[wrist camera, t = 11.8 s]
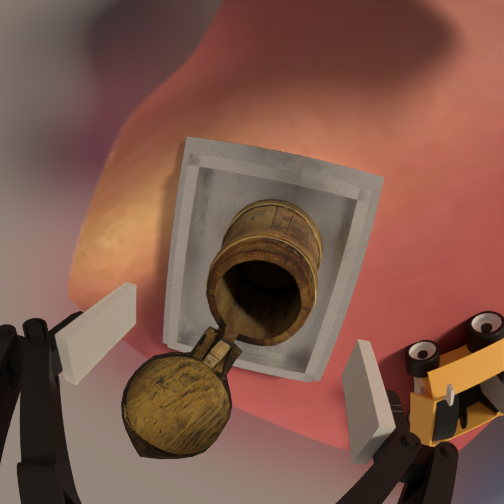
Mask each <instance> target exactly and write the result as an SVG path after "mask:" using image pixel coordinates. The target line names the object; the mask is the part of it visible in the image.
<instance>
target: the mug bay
mask: <svg viewBox="0 0 504 504" xmlns="http://www.w3.org/2000/svg"><path fill="white" fill-rule="evenodd" d="M383 180H384V177H381V176H378V175H375V174H371V173H368V172H364V171H360V170H357V169H353V168H349V167H346V166H342V165H338V164H334V163H330V162H326V161H322V160H317V159H313V158H309V157H304V156H300V155H295V154H290V153H286V152H281V151H276V150H271V149H265V148H260V147H254V146H249V145H243V144H237V143H230V142H224V141H217V140H210V139H203V138H195V137H187V138H186V143H185V149H184V154H183V160H182V166H181V172H180V178H179V184H178V191H177V198H176V205H175V212H174V219H173V227H172V235H171V244H170V253H169V263H168V273H167V284H166V296H165V310H164V326H163V343H165V344H168V345H167V347H168V348H171V349H175V350H178V351H181V352H184V353H186V352H191V351H192V349H193V348H194V347H195V345H196V344H197V342H198V341H199V339H200V338H201V337H202V335H203V334H204V332H205V331H206V330H207V329H208V327H209V326H211V327H213V328H215V329H218V327H219V326H218V324H217V323H216V321H215V319H214V318H213V316H212V314H211V312H210V308H209V304H208V300H207V296H206V282H207V277H208V272H209V268H210V265H211V264H212V262H213V260H214V258H215V256H216V255H217V253H218V252H219V251H220V250H221V246H222V241H223V236H224V234H225V232H226V230H227V228H228V226H229V225H230V223H231V222H232V220H233V219H234V217H235V216H236V214H237V213H238V212H239V211H240V210H242V209H243V208H244V207H245V206H246V205H248V204H251V203H253V202H256V201H258V200H265V199H277V200H283V201H287V202H289V203H291V204H294V205H296V206H298V207H299V208H301V209H302V210H303V211H304V212H306V213H307V214H308V215H309V216H310V218H311V219H312V220H313V222H314V223H315V224H316V226H317V228H318V230H319V232H320V234H321V236H322V247H323V252H322V255H321V262H320V268H319V270H318V272H317V275H318V289H317V296H316V303H315V305H314V307H313V309H312V311H311V313H310V315H309V317H308V319H307V320H306V321H305V323H304V325H303V326H302V327H301V328H300V329H299V330H298V331H297V332H296V333H295V334H294V335H293V336H292V337H291V338H289V339H288V340H286V341H285V342H283V343H280V344H277V345H274V346H257V345H252V344H247V343H244V342H241V341H237V340H235V341H234V343H235V344H236V345H237V346H238V347H239V348H240V349H241V350H242V351H243V352H242V353H241V355H240V356H239V357H238V358H237V360H236V361H235V362H234V364H233V366H235V367H239V368H243V369H247V370H251V371H256V372H260V373H265V374H269V375H274V376H279V377H284V378H289V379H294V380H299V381H305V382H310V383H311V382H312V380H316V381H320V380H321V377H322V375H323V373H324V370H325V368H326V365H327V363H328V360H329V358H330V355H331V353H332V350H333V348H334V345H335V342H336V340H337V337H338V334H339V332H340V329H341V326H342V323H343V321H344V318H345V315H346V312H347V309H348V306H349V303H350V300H351V297H352V294H353V291H354V288H355V285H356V282H357V279H358V276H359V272H360V269H361V266H362V262H363V259H364V256H365V252H366V249H367V245H368V241H369V238H370V234H371V230H372V227H373V223H374V219H375V215H376V211H377V207H378V202H379V198H380V194H381V189H382V185H383Z"/></svg>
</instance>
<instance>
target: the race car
mask: <svg viewBox="0 0 504 504" xmlns="http://www.w3.org/2000/svg"><path fill="white" fill-rule="evenodd" d="M405 359H406V370H407V372H408V374H409V375H411V376H413V377H414V392H411V393H410V413H409V414H408V417H407V423H408V427H409V430H410V432H412V433H414V434H416V435H417V436H418V437H419V439H420V440H421V444H424V445H428V446H431V447H433V446H435V445H437V444H438V443H440V442H443V441H448V440H450V439H452V438H455V437H457V436H459V435H461V434H464V433H466V432H468V431H470V430H472V429H474V428H476V427H478V426H480V425H482V424H484V423H486V422H488V421H490V420H492V419H494V418H495V417H497V416H502V415H504V317H503V316H502V315H501V314H499V313H497V312H493V311H484V312H481V313H479V314H476V315H474V316H472V317H471V318H470V319H469V321H468V324H467V345H464V346H462V347H460V348H458V349H455V350H453V351H450V352H448V353H445V354H443V355H440V347H439V345H438V344H437V343H436V342H434V341H431V340H422V341H419V342H416V343H414V344H411V345H410V346H409V347H408V348H407V349H406V352H405Z"/></svg>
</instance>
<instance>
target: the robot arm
mask: <svg viewBox="0 0 504 504" xmlns="http://www.w3.org/2000/svg"><path fill="white" fill-rule="evenodd" d="M136 287H137V285H134V284H131V283H128V282H125V283H124V284H122V285H121V286H120V287H118V288H117V289H115V290H114V291H113V292H111V293H110V294H108V295H107V296H106V297H104V298H103V299H102V300H100V301H99V302H97V303H96V304H95V305H93V306H92V307H91V308H89V309H88V310H87V311H85V312H81V311H79V312H76V313H74V314H71V315H70V316H69V317H67V318H66V319H65V320H63V321H62V322H61V323H59V324H58V325H56V326H55V327H54V328H52V329H51V330H50V331H48V328H47V323H46V322H45V321H44V320H43V319H40V318H32V319H29V320H27V321H25V322H24V323H23V325H22V326H23V331H24V335H25V337H23V336H20V335H17V332H16V328H15V327H14V326H12V325H7V324H6V325H1V326H0V462H1V458H2V453H3V449H4V445H5V441H6V437H7V433H8V429H9V426H10V422H11V419H12V415H13V412H14V409H15V406H16V403H17V400H18V397H19V393H20V391H21V394H20V395H21V396H20V445H21V462H20V463H18V464H17V477H18V486H19V493H20V499H21V504H81V501H80V499H79V497H78V494H77V492H76V488H75V484H74V480H73V475H72V471H71V467H70V461H69V456H68V451H67V445H66V439H65V432H64V425H63V417H62V407H61V396H60V383H59V376H58V374H59V373H61V372H62V371H63V375H64V378H65V380H67V381H69V382H70V383H72V384H74V385H77V384H78V383H79V382H80V381H81V380H82V379H83V378H84V377H85V376H86V375H87V374H88V373H89V372H90V370H91V369H92V368H93V367H94V366H95V365H96V364H97V363H98V362H99V361H100V360H101V359H102V358H103V357H104V356H105V355H106V354H107V353H108V352H109V351H110V350H111V349H112V348H113V347H114V346H115V345H116V344H117V343H118V342H119V341H120V340H121V339H122V338H123V337H124V336H125V335H126V333H127V332H128V331H129V330H130V329H131V328H132V327H133V326H134V325H135V324H136ZM342 382H343V390H344V397H345V405H346V413H347V421H348V430H349V440H350V450H351V461H352V463H357V464H367V463H368V462H369V460H371V458H372V457H373V461H374V464H373V466H371V467H370V469H369V470H368V471H367V472H366V473H365V474H364V475H363V477H361V479H360V480H359V481H358V482H357V483H356V484H355V485H354V486H353V487H352V488H351V489H350V490H349V491H348V492H347V493H346V494H345V495H344V496H343V497H342V498H341V499H340V500H339V501H338V502H337V503H336V504H382V503H383V502H384V500H385V499H386V498H387V496H388V495H389V494H390V492H391V491H392V490H393V488H394V487H395V486H396V484H397V483H398V482H403V483H405V484H404V487H403V489H402V492H401V495H400V498H399V500H398V503H397V504H451V500H452V495H453V489H454V483H455V477H456V470H457V462H458V450H457V448H456V447H455V446H454V445H453V444H452V443H450V442H446V441H443V442H440V443H438V444H437V445H436V446H435V447H431V446H428V445H424V444H421V440H420V439H419V437H418V436H417V435H416V434H414V433H412V432H410V430H409V427H408V423H407V420H406V417H405V414H404V412H403V408H402V406H401V402H400V398H399V397H398V396H397V394H396V393H395V392H394V391H392V390H385V387H384V384H383V381H382V378H381V374H380V371H379V368H378V365H377V362H376V359H375V356H374V353H373V350H372V347H371V344H370V341H365V340H359V339H357V342H356V344H355V347H354V349H353V351H352V354H351V356H350V358H349V361H348V363H347V365H346V367H345V370H344V372H343V374H342Z"/></svg>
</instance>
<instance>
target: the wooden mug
mask: <svg viewBox="0 0 504 504" xmlns="http://www.w3.org/2000/svg"><path fill="white" fill-rule="evenodd" d="M322 252H323V247H322V236H321V234H320V232H319V230H318V228H317V226H316V224H315V223H314V222H313V220H312V219H311V218H310V216H309V215H308V214H307V213H306V212H304V211H303V210H302V209H301V208H299V207H298V206H296V205H294V204H291V203H289V202H287V201H283V200H277V199H265V200H258V201H256V202H253V203H251V204H248V205H246V206H245V207H244V208H243V209H242V210H240V211H239V212H238V213H237V214H236V216H235V217H234V219H233V220H232V222H231V223H230V225H229V226H228V228H227V230H226V232H225V234H224V236H223V241H222V246H221V250H220V251H219V252H218V253H217V255H216V256H215V258H214V260H213V262H212V264H211V265H210V268H209V272H208V277H207V282H206V296H207V300H208V304H209V308H210V312H211V314H212V316H213V318H214V319H215V321H216V323H217V324H218V326H219V327H218V329H215V328H213V327H211V326H209V327H208V329H207V330H206V331H205V332H204V334H203V335H202V337H201V338H200V339H199V341H198V342H197V344H196V345H195V347H194V348H193V349H192V351H191V352H186V353H182V352H170V353H165V354H160V355H155V356H153V357H151V358H150V359H149V360H147V361H146V362H145V363H144V364H142V366H140V367H139V368H138V369H137V370H136V371H135V372H134V374H133V375H132V377H131V378H130V379H129V381H128V383H127V385H126V387H125V389H124V392H123V398H122V402H121V408H122V419H123V422H124V426H125V429H126V431H127V433H128V436H129V438H130V440H131V442H132V444H133V446H134V448H135V449H136V451H137V453H138V454H139V456H140V457H147V458H155V459H179V458H187V457H193V456H195V455H198V454H201V453H203V452H205V451H206V450H207V449H208V448H209V447H210V446H211V445H212V444H213V443H214V442H215V441H216V439H217V438H218V437H219V435H220V434H221V431H222V430H223V429H224V427H225V425H226V423H227V422H228V420H229V418H230V414H231V408H232V400H231V393H230V389H229V385H228V380H227V374H228V372H229V371H230V369H231V367H232V366H233V364H234V362H235V361H236V360H237V358H238V357H239V356H240V355H241V353H242V352H243V351H242V350H241V349H240V348H239V347H238V346H237V345H236V344H235V343H234V341H235V340H237V341H241V342H244V343H247V344H252V345H257V346H274V345H277V344H280V343H283V342H285V341H286V340H288V339H289V338H291V337H292V336H293V335H294V334H295V333H296V332H297V331H298V330H299V329H300V328H301V327H302V326H303V325H304V323H305V321H306V320H307V319H308V317H309V315H310V313H311V311H312V309H313V307H314V305H315V303H316V296H317V289H318V275H317V272H318V270H319V268H320V262H321V255H322Z"/></svg>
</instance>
